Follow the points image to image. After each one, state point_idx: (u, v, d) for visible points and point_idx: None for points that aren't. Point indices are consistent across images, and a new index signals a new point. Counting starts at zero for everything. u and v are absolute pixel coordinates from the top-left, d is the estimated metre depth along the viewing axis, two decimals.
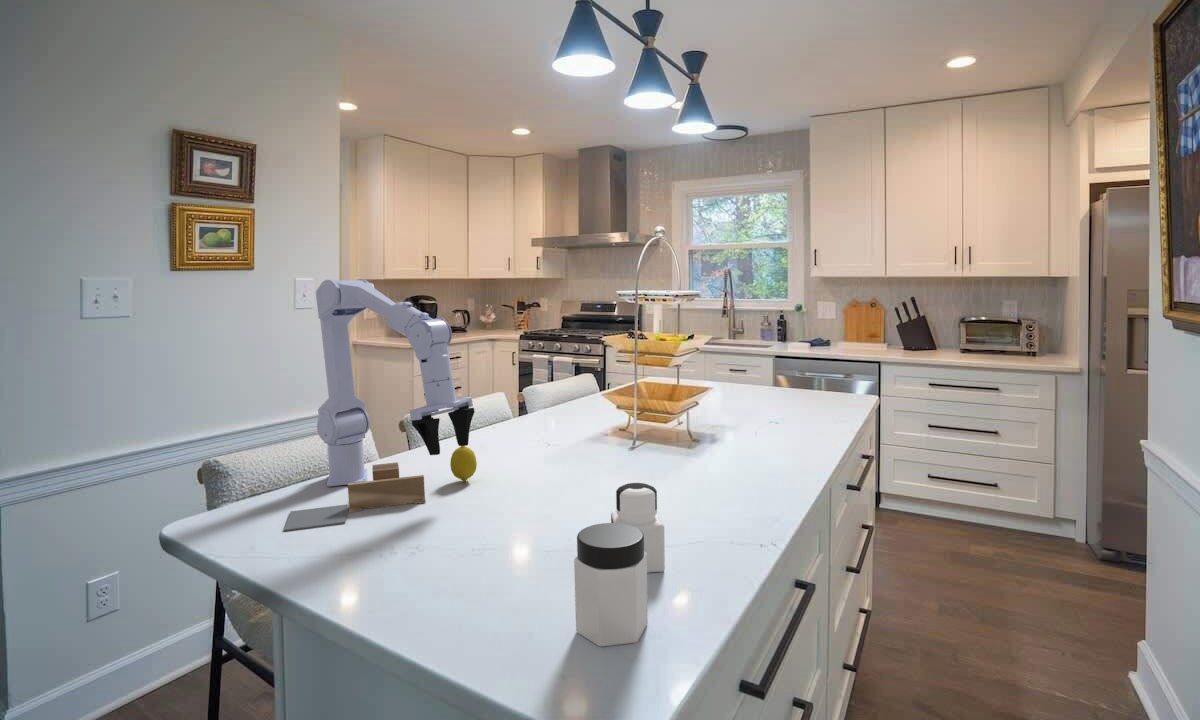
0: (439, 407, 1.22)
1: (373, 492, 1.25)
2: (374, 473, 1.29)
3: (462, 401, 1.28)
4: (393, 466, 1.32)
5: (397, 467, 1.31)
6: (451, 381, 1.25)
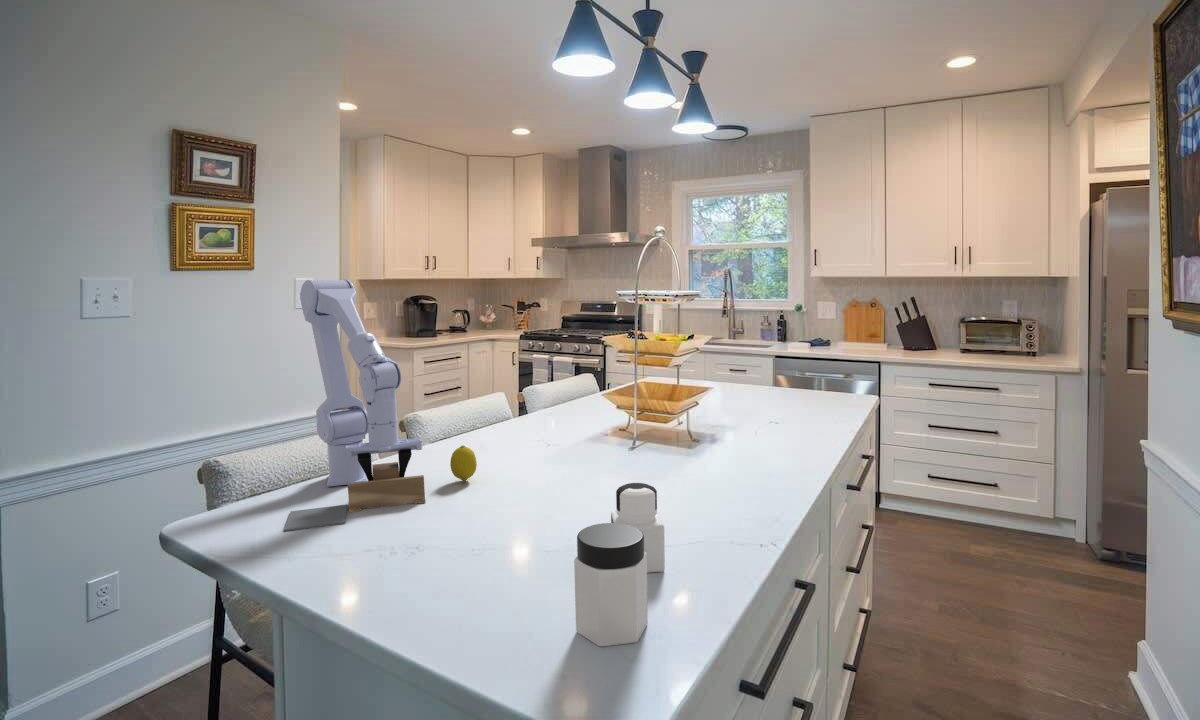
0: (369, 449, 1.28)
1: (373, 492, 1.25)
2: (374, 473, 1.29)
3: (403, 445, 1.31)
4: (393, 466, 1.32)
5: (397, 467, 1.31)
6: (387, 426, 1.29)
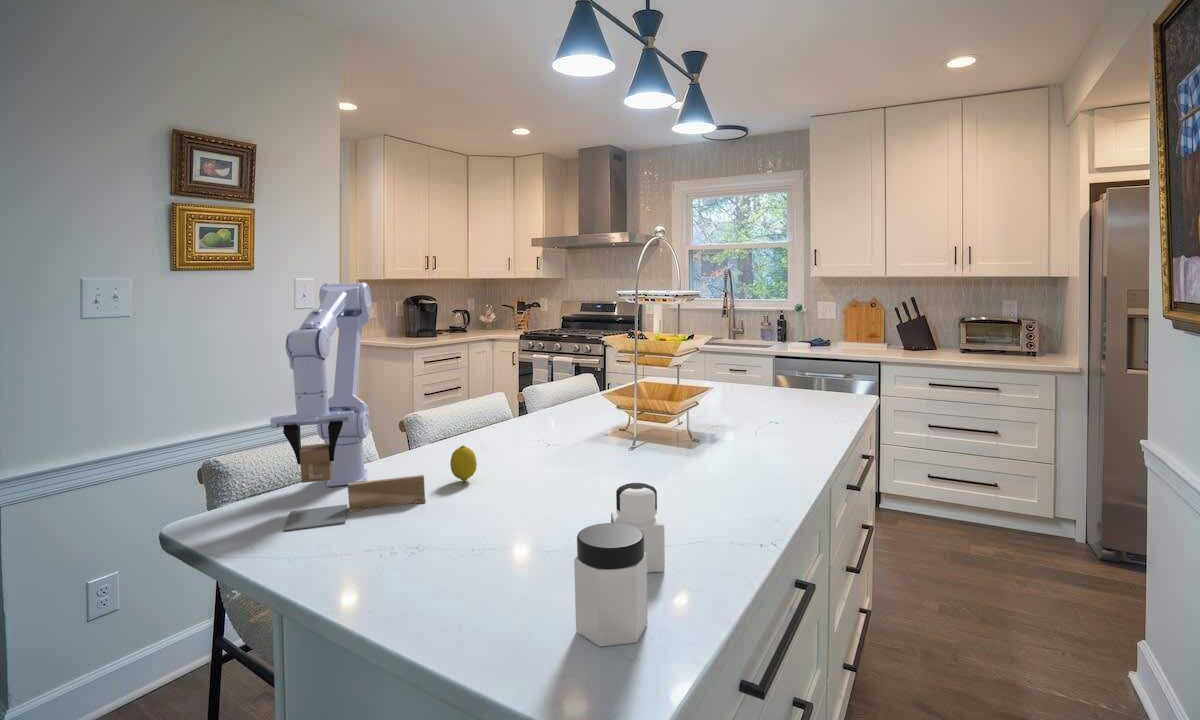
0: (295, 420, 1.21)
1: (373, 492, 1.25)
2: (301, 454, 1.22)
3: (332, 416, 1.24)
4: (323, 447, 1.25)
5: (327, 448, 1.24)
6: (315, 396, 1.21)
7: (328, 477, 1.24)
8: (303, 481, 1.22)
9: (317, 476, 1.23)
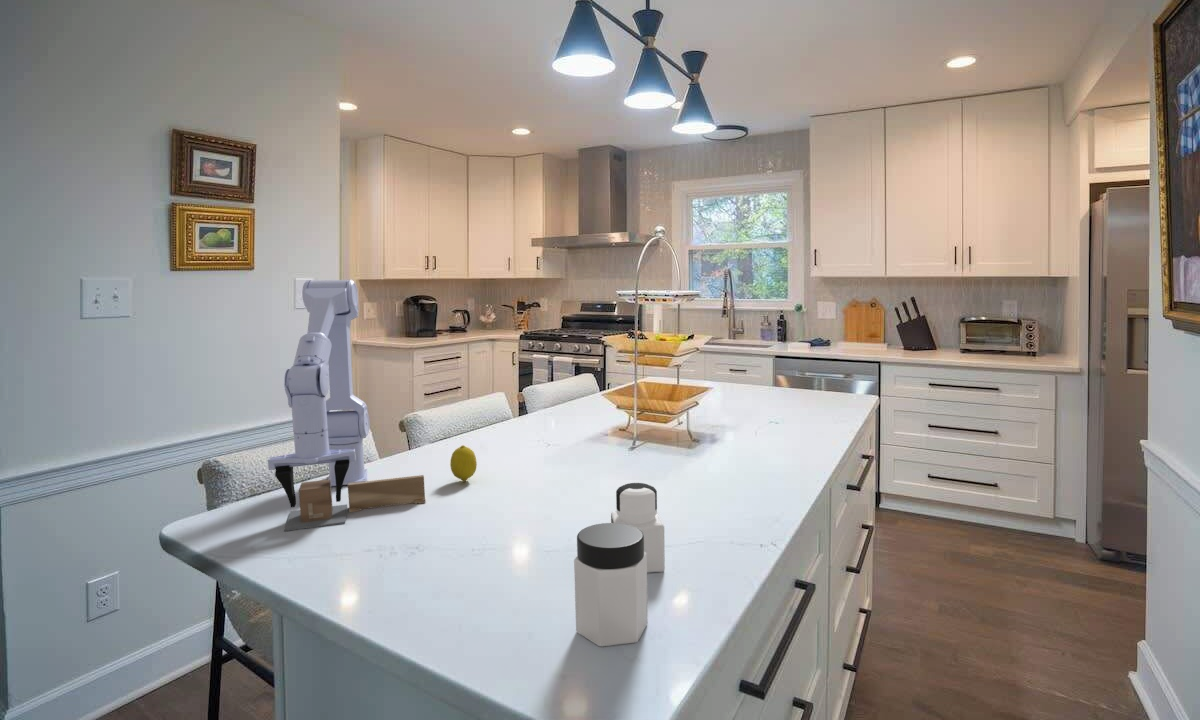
0: (294, 461, 1.16)
1: (373, 492, 1.25)
2: (301, 492, 1.17)
3: (333, 456, 1.18)
4: (323, 484, 1.20)
5: (327, 485, 1.19)
6: (314, 435, 1.16)
7: (329, 516, 1.19)
8: (302, 521, 1.17)
9: (317, 515, 1.18)
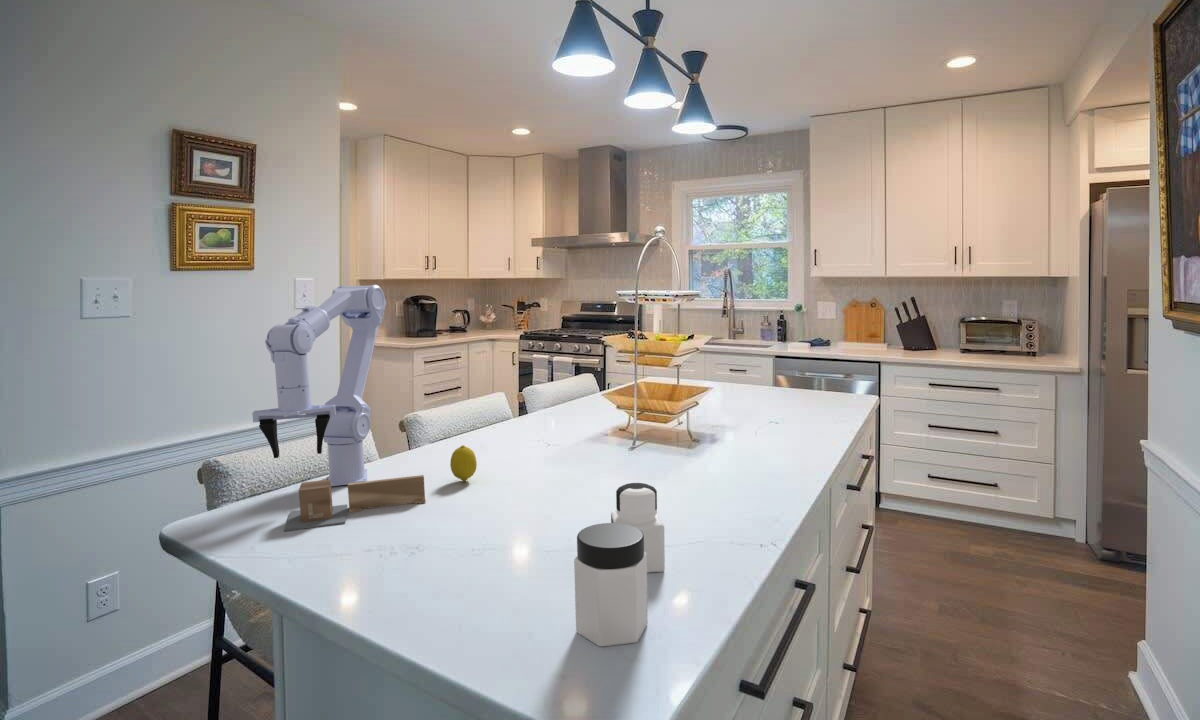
0: (277, 414, 1.23)
1: (373, 492, 1.25)
2: (301, 492, 1.17)
3: (314, 410, 1.25)
4: (323, 484, 1.20)
5: (327, 485, 1.19)
6: (296, 390, 1.23)
7: (329, 516, 1.19)
8: (302, 521, 1.17)
9: (317, 515, 1.18)
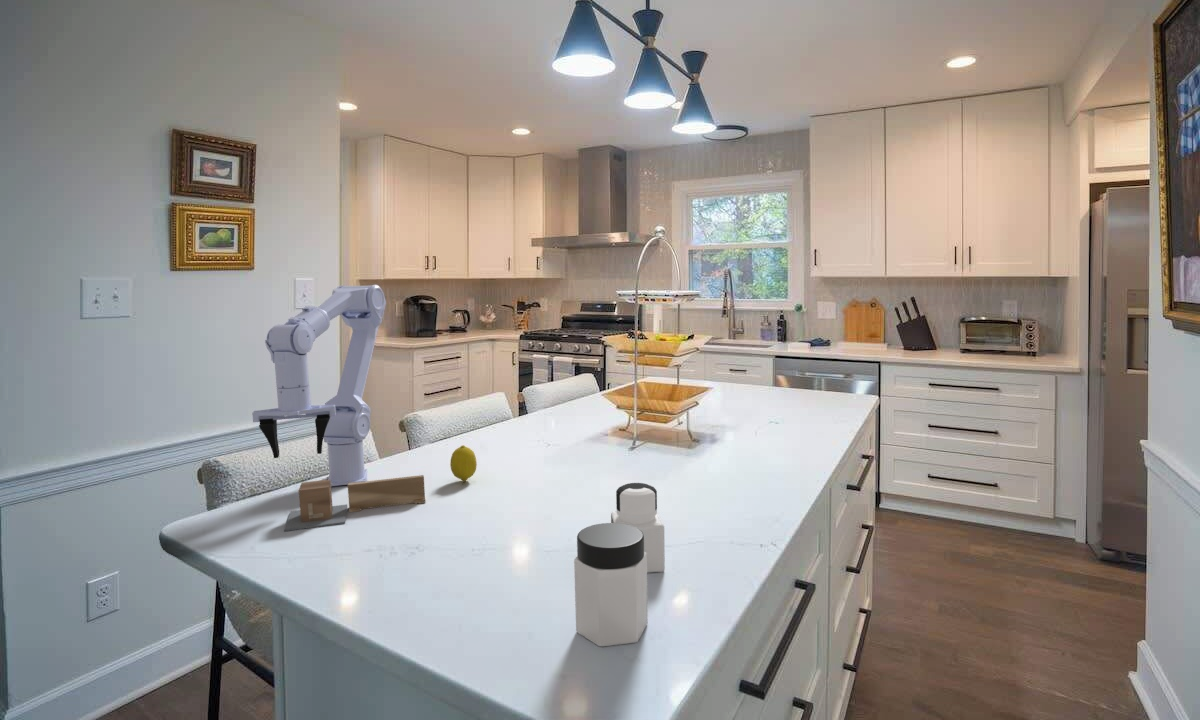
0: (277, 414, 1.23)
1: (373, 492, 1.25)
2: (301, 492, 1.17)
3: (314, 410, 1.25)
4: (323, 484, 1.20)
5: (327, 485, 1.19)
6: (296, 390, 1.23)
7: (329, 516, 1.19)
8: (302, 521, 1.17)
9: (317, 515, 1.18)
